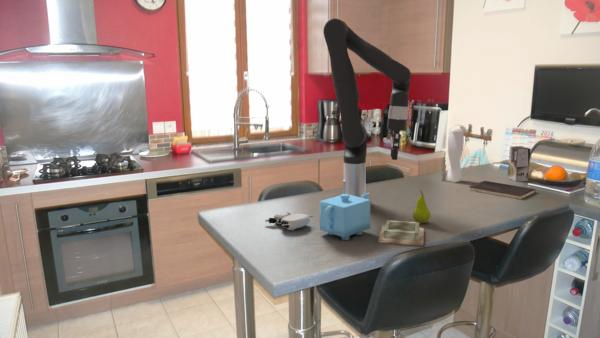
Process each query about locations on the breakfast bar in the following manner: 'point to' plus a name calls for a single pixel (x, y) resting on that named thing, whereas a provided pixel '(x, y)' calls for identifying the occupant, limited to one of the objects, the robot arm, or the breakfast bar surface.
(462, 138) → the skyscraper
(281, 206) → the breakfast bar surface
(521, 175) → the coffee box
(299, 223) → the robot toy
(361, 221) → the teapot
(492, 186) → the book
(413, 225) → the tray
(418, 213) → the fruit
